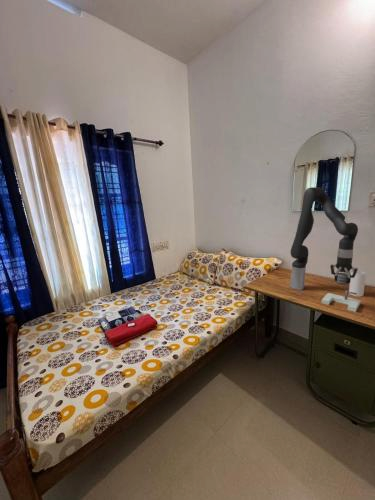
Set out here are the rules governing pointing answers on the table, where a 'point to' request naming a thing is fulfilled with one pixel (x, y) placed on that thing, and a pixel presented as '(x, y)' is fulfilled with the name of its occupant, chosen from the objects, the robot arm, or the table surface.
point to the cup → (357, 283)
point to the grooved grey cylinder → (342, 278)
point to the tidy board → (342, 300)
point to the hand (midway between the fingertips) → (342, 282)
